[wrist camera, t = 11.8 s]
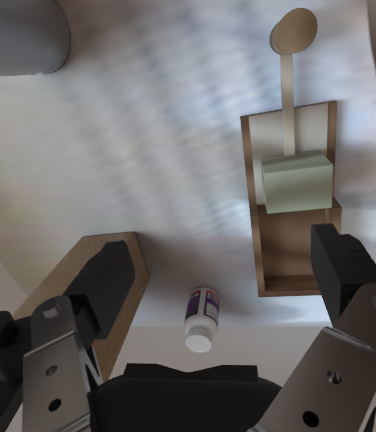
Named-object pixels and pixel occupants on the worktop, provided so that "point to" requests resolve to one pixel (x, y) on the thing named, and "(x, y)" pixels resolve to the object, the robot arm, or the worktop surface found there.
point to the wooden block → (65, 275)
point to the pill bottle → (201, 319)
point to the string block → (293, 162)
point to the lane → (294, 220)
